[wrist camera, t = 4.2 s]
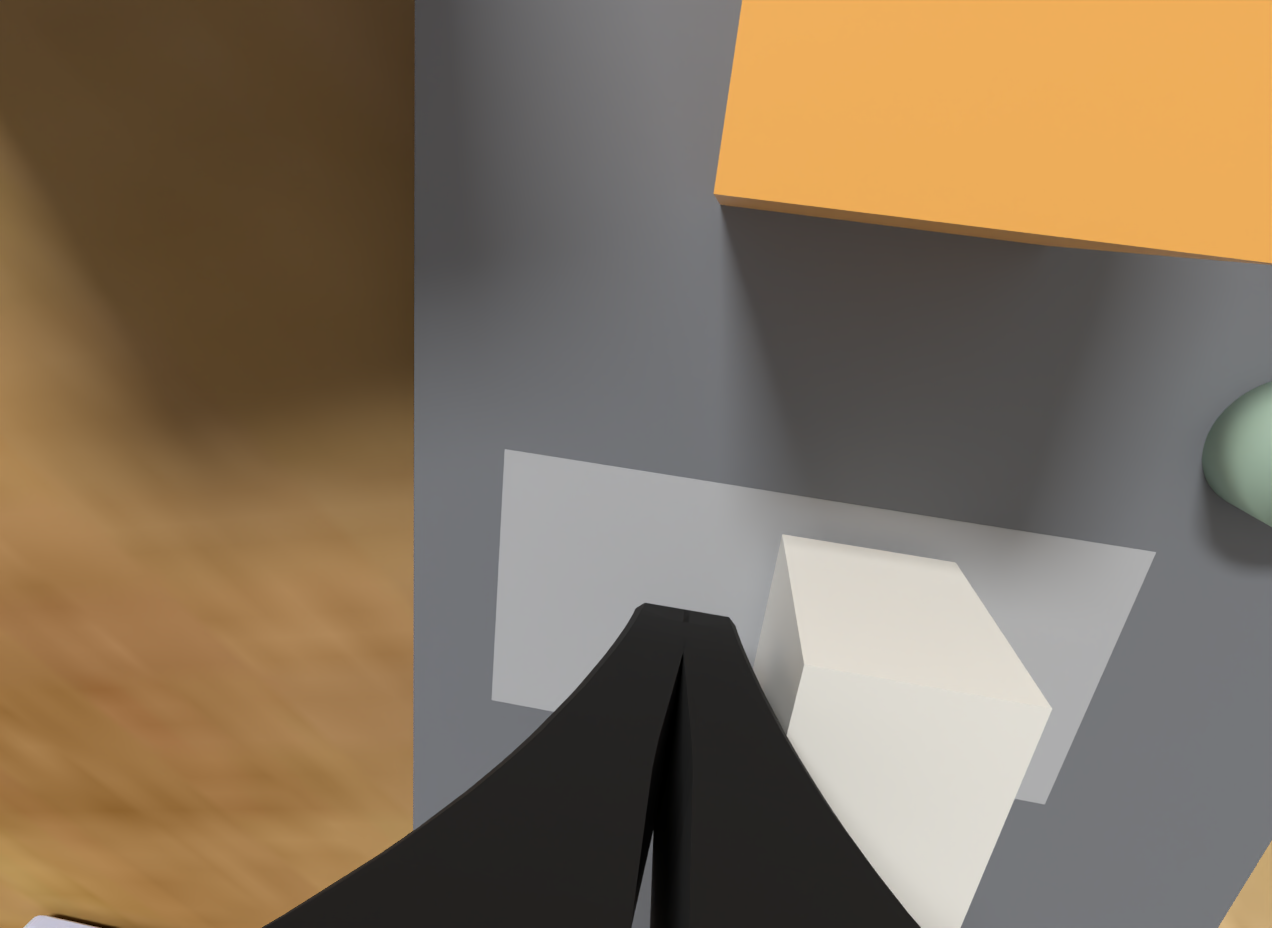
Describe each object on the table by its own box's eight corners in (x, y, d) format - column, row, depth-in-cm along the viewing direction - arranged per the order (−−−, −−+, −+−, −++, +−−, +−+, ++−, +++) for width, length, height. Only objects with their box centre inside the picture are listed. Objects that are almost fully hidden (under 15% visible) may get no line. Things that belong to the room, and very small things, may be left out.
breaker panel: (1091, 983, 14) (1156, 1121, 12) (442, 848, 15) (395, 952, 13) (1781, -291, 7) (2249, -518, 5) (469, -369, 8) (377, -581, 6)
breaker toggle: (890, 762, 11) (947, 956, 8) (738, 734, 11) (741, 914, 8) (955, 562, 9) (1052, 708, 7) (782, 533, 10) (803, 664, 7)
